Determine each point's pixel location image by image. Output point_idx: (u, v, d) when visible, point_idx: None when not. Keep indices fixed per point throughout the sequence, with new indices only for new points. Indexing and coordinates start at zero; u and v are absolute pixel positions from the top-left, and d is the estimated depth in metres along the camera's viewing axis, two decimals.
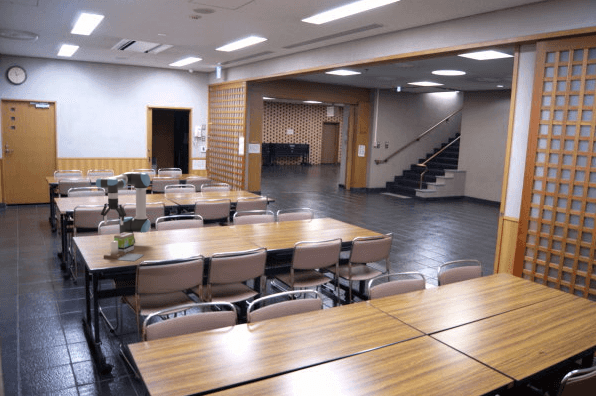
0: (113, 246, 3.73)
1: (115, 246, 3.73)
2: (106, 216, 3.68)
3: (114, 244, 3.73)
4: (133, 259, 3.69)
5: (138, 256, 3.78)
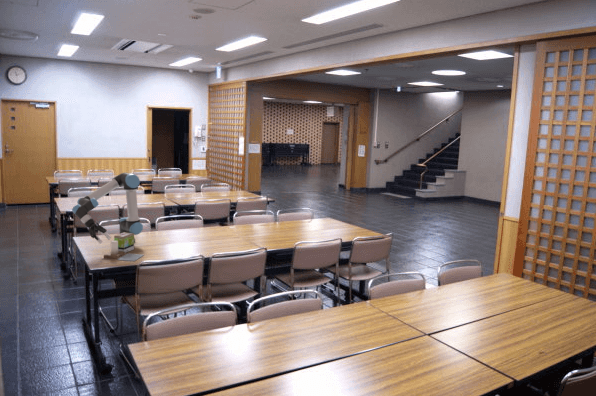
0: (113, 246, 3.73)
1: (115, 246, 3.73)
2: (105, 233, 3.80)
3: (114, 244, 3.73)
4: (133, 259, 3.69)
5: (138, 256, 3.78)
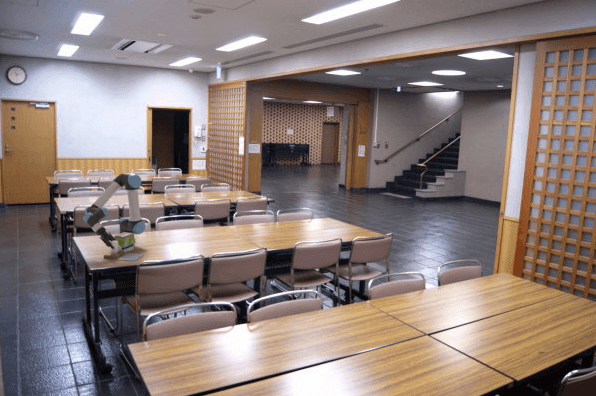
0: None
1: (115, 246, 3.73)
2: None
3: (114, 244, 3.73)
4: (133, 259, 3.69)
5: (138, 256, 3.78)
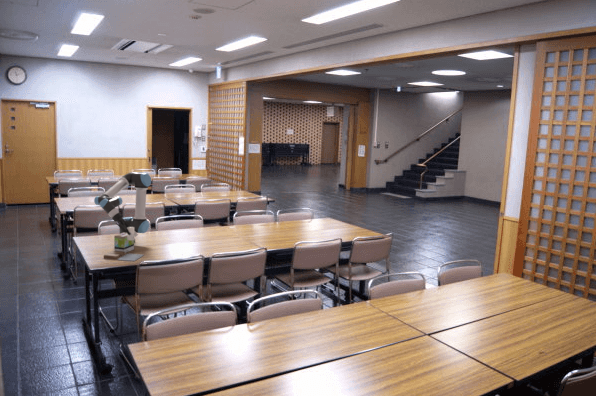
0: None
1: (131, 232, 3.70)
2: None
3: (130, 230, 3.69)
4: (133, 259, 3.69)
5: (138, 256, 3.78)
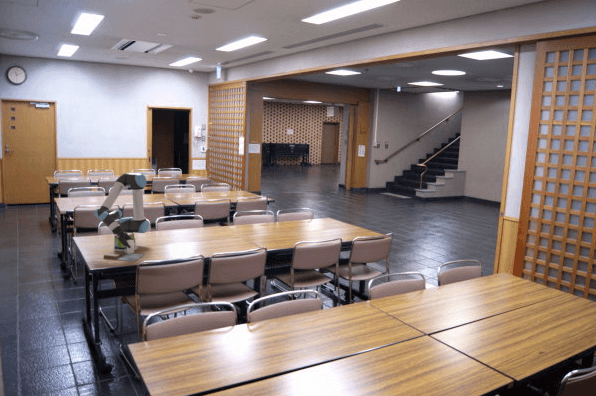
0: None
1: (131, 245, 3.71)
2: None
3: (130, 243, 3.71)
4: (133, 259, 3.69)
5: (138, 256, 3.78)
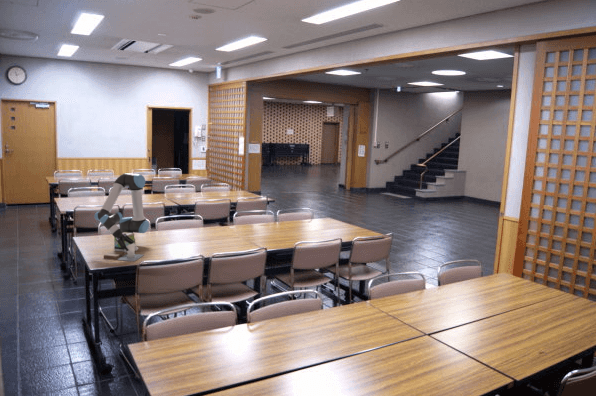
0: None
1: (132, 250, 3.72)
2: None
3: (131, 248, 3.72)
4: (133, 259, 3.69)
5: (138, 256, 3.78)
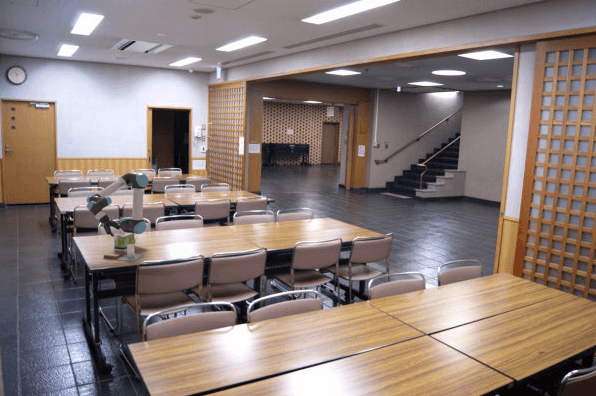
0: (129, 249, 3.72)
1: (131, 249, 3.72)
2: (120, 229, 3.80)
3: (130, 247, 3.72)
4: (133, 259, 3.69)
5: (138, 256, 3.78)
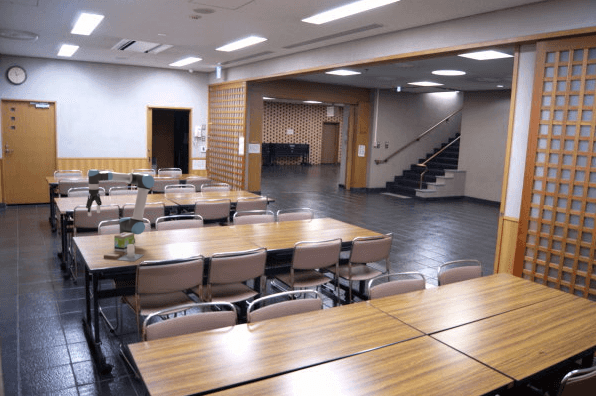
0: (129, 250, 3.72)
1: (131, 250, 3.72)
2: (99, 206, 3.83)
3: (130, 248, 3.71)
4: (133, 259, 3.69)
5: (138, 256, 3.78)
